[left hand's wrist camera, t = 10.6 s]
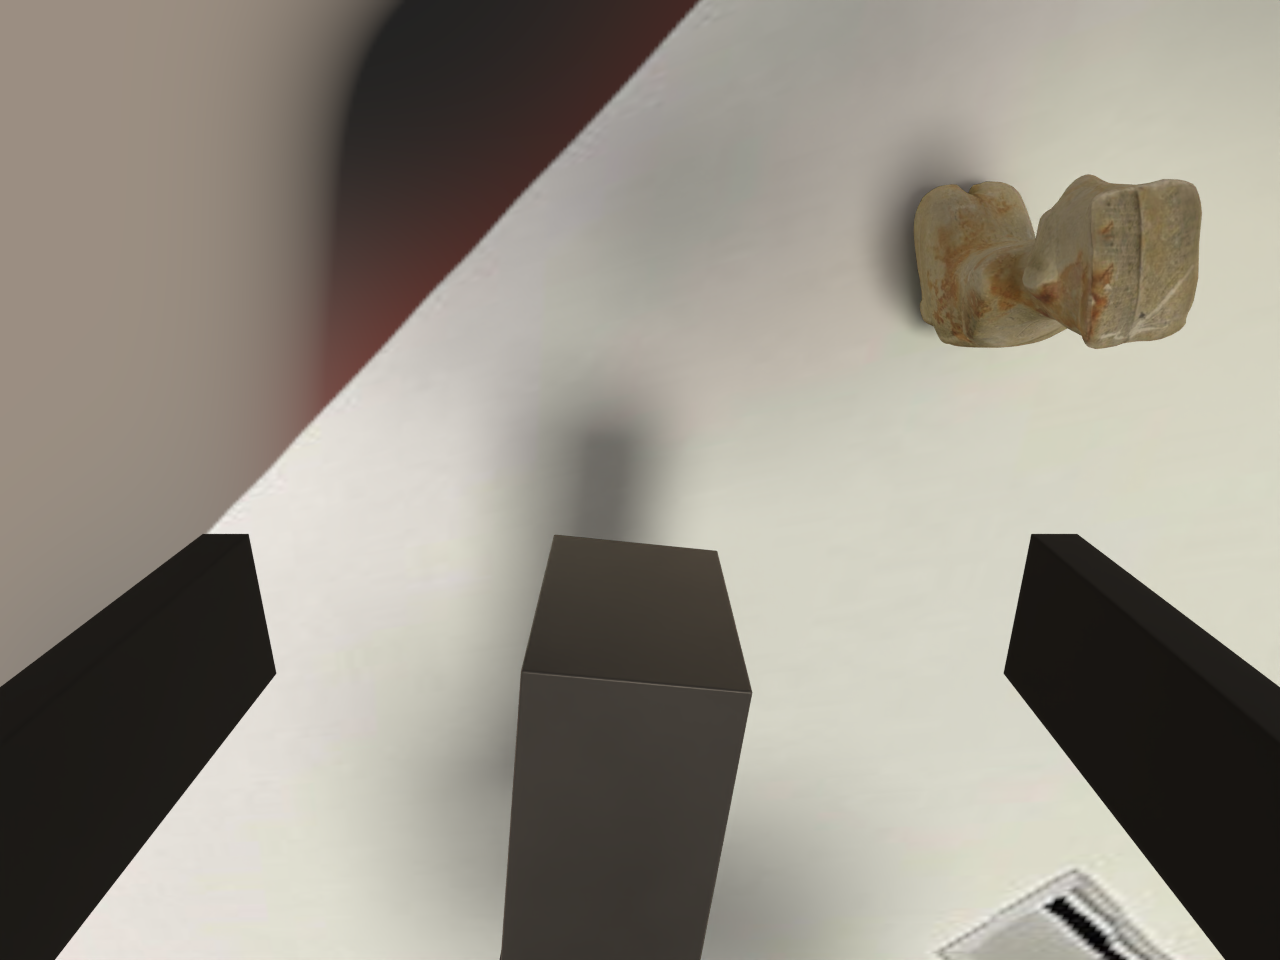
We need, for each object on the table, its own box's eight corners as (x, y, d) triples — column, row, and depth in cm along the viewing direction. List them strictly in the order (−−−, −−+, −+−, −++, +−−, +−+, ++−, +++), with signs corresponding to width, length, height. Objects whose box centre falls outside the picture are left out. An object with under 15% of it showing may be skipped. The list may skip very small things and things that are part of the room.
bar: (554, 533, 27) (520, 670, 19) (717, 550, 27) (752, 692, 19) (515, 1002, 35) (481, 1237, 27) (642, 1011, 35) (644, 1247, 27)
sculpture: (1018, 178, 36) (1268, 161, 22) (1004, 329, 38) (1220, 401, 24) (896, 187, 36) (1068, 177, 22) (890, 337, 38) (1040, 414, 24)
